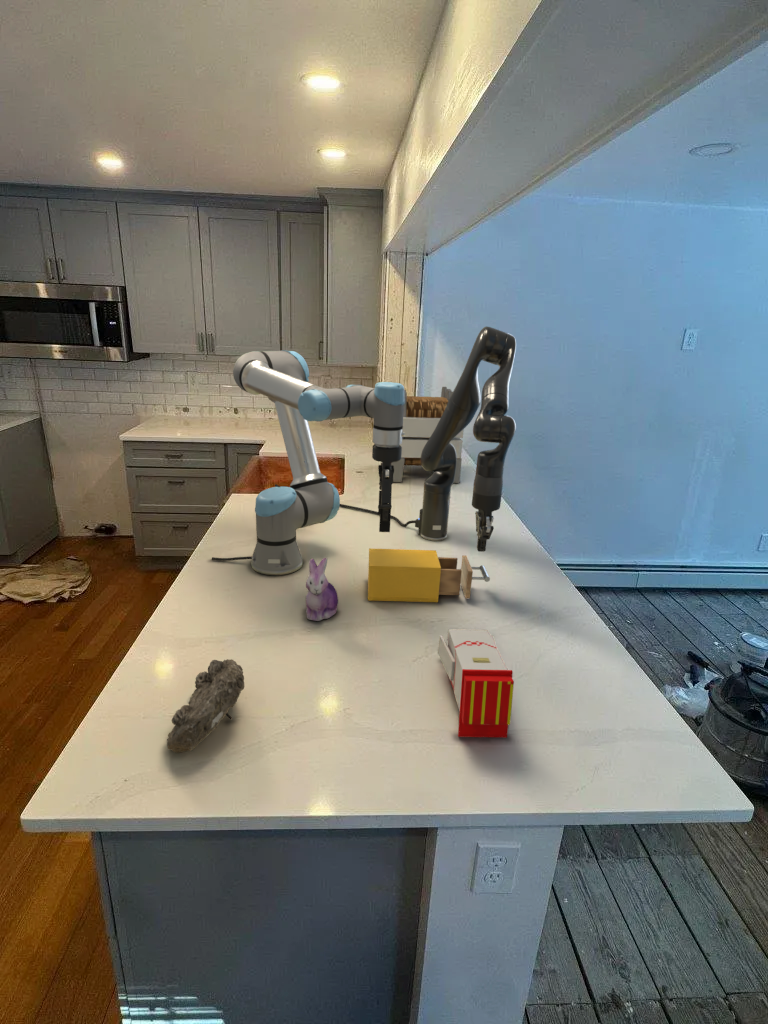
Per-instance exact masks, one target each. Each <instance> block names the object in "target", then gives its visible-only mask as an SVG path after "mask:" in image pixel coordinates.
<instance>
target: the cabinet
mask: <svg viewBox="0 0 768 1024" xmlns="http://www.w3.org/2000/svg"><path fill="white" fill-rule="evenodd" d="M438 557H439V556H438V552H437V550H433V549H432V550H431V549H402V548H396V549H395V548H371V547H370V548H368V565H367V566H368V567H367V568H368V569H367V601H370V602H371V601H375V602H408V603H409V602H410V603H411V602H412V603H413V602H415V603H438V602H439V596H440V595H439V585H440V573H441V566H440V563H439V559H438Z"/></svg>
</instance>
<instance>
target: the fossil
mask: <svg viewBox="0 0 768 1024" xmlns="http://www.w3.org/2000/svg"><path fill="white" fill-rule="evenodd" d="M243 670H244V669H243V667H242V665H240V664H237V662H236V661H235V660H234V659H232V658H231V659H227V658H226V659H224V660H223V661H222V660H217V659H212V660H211V661H210V663H209V665H208V666H207V671H201V672H199V673H198V674H197V675H196V676H195V680H194V684H195V685H194V687H195V689H194V690H193V693H192V694H191V697H190V698H189V700H188V704H184V705H182V706H181V707H180V709H177V710H176V711H175V713H174V715H173V716H172V718H171V723H172V724H173V727H172V730H171V731H170V732H168V734H167V738H166V741H167V742H166V745H167V749H168V750H169V751H173V752H174V753H176V754H178V753H182V752H188V751H189V752H192V751H193V750H195V748H196V747H197V746H199V744H200V743H201V742H203V741H204V740H205V739H206V738H207V737H208V736H209V735H210V734H211V733H212V732H214V730H215V729H217V727H218V726H219V724H220V722H221V721H222V720H223V719H224V718H225V716H226V717H227V719H229V720H233V717H232V715H230V714H229V710H230V709H231V708H234V706H235V704H236V703H237V702H238V699H239V697H240V695H241V693H242V691H243V690H245V689H244V688H245V675H244V671H243Z"/></svg>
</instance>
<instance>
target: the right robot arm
mask: <svg viewBox="0 0 768 1024" xmlns="http://www.w3.org/2000/svg"><path fill="white" fill-rule="evenodd" d="M516 351H517V340H516V337H515V336H514V335H513V334H511V333H509V332H506V331H503V330H499V329H497V328H494V327H491V326H484V327H483V328H481V330H480V331H479V333H478V334H477V336H476V338H475V341H474V343H473V345H472V348H471V351H470V353H469V356H468V358H467V361H466V364H465V366H464V368H463V370H462V372H461V375H460V377H459V379H458V381H457V383H456V385H455V387H454V389H453V390H452V392H453V393H452V395H451V397H450V399H449V401H448V403H447V405H446V408H445V410H444V412H443V414H442V416H441V418H440V420H439V422H438V424H437V426H436V428H435V430H434V432H433V433H432V435H431V437H430V438H429V440H428V441H427V443H426V444H425V446H424V448H423V450H422V453H421V465H422V466H421V467H422V469H423V470H424V471H426V472H428V473H432V474H431V475H430V476H429V477H427V478H426V479H425V480H424V482H423V493H422V496H423V497H422V506H421V508H420V509H419V516H418V518H416V519H415V520H407V522H405V523H402V521H401V520H400V519H399V518H397V517H396V516H394V515H391V518H390V519H392V520H394V521H396V522H397V523H398V525H399V526H401V527H404V528H406V527H407V526H409V525H411V524H414V527H415V528H418V530H417V535H418V536H420V538H421V539H424V540H426V541H432V542H440V541H444V540H446V539H447V538H448V525H449V517H450V516H449V514H450V504H451V494H452V493H451V491H452V486H453V484H454V483H453V482H454V476H455V469H456V461H457V455H456V450H455V448H454V446H453V445H452V444H450V442H451V440H452V439H453V438H454V437H455V436H457V435H458V434H459V433H460V432H461V431H462V430H463V429H464V430H465V429H466V428H467V426H469V425H470V423H471V422H472V421H473V419H474V417H475V415H476V414H477V412H478V410H479V412H478V414H477V415H476V418H475V421H474V423H473V426H472V435H473V436H474V438H475V439H476V441H478V442H481V443H491V444H492V443H493V444H498V445H497V446H496V447H494V448H491V449H485V450H481V451H480V452H479V453H478V455H477V459H476V469H475V475H474V479H473V488H472V498H471V499H472V500H471V506H472V508H474V509H476V510H477V511H475V513H474V514H475V532H476V536H477V540H476V550H477V552H479V553H480V552H483V553H484V552H486V550H487V542H488V540H490V539H491V536H492V534H493V532H494V529H495V527H494V526H493V523H494V515H493V512H495V511H498V510H499V509H500V508H501V504H502V503H501V502H502V494H503V487H504V486H503V485H504V469H505V463H506V457H507V454H508V450H509V448H510V446H511V444H512V442H513V439H514V437H515V434H516V430H517V424H516V421H515V419H514V418H513V417H512V416H510V415H506V414H507V413H508V410H509V397H510V395H509V391H510V390H509V389H510V380H511V377H512V372H513V367H514V361H515V355H516ZM482 361H484V362H486V363H489V364H492V365H495V366H498V369H497V371H495V372H494V373H492V374H491V375H490V376H489V377H488V378H487V380H486V381H485V382H484V384H483V386H482V388H481V389H482V390H480V383H479V366H480V364H481V362H482ZM479 407H480V409H479ZM274 487H281V486H280V485H278V484H274ZM339 507H342V508H345V509H352V510H356V511H362V512H366V513H370V514H374V515H379V516H380V514H378V511H376V510H372V509H367V508H363V507H359V506H354V505H348V504H342V503H340V506H339Z"/></svg>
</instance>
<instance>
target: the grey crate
mask: <svg viewBox="0 0 768 1024" xmlns="http://www.w3.org/2000/svg"><path fill="white" fill-rule="evenodd" d="M404 393H405V404H404V415H403V429H402V430H403V431H402V432H404V433H405V435H404V436H402V444H400V446H401V447H402V454H401V460H400V461H398V462H392V463H391V465H394V475H393V483H402V482H403V475H404V469H405V466H406V467H407V466H411V467H412V466H413V467H415V466H416V467H417V466H418V467H422V465H421V453H422V450H423V448H424V446H425V444H426V443H427V441H428V440H429V438H430V437H431V435H432V433H433V432H434V430H435V428H436V426H437V424H438V422H439V420H440V418H441V416H442V414H443V412H444V410H445V408H446V405H447V403H448V401H449V399H450V397H451V395H452V393H453V390H452V389H451V388H447V386H442V387H441V392H440V393H441V394H440V396H415V395H414V396H413V395H412V396H411V395H407V394H408V393H407V390H406V389H404ZM464 431H465V428H464V429H463V430H462V431H461V432H460V433H459V434H458V435H457V436H455V437H454V438H453V439H452V440H451V442H450V444H452V445H453V446H454V448H455V450H456V455H457V461H456V469H455V476H454V482H453V484H455V483H456V484H459V483H461V472H462V461H463V460H462V453H463V442H464V441H463V440H462V439H463V438H464Z"/></svg>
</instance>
